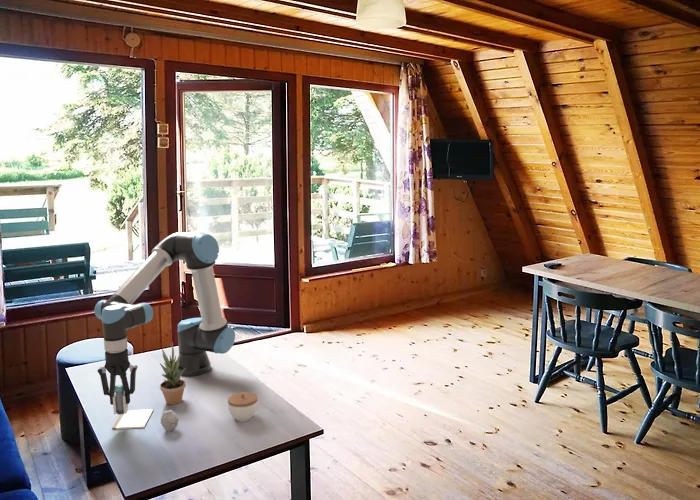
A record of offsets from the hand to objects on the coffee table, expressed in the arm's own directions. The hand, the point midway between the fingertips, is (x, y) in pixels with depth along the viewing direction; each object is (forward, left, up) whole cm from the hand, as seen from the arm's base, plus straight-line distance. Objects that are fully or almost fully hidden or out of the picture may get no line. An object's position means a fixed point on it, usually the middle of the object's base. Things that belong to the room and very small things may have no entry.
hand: (121, 412), depth 211 cm
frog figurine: (-18, +6, -5) cm, 19 cm away
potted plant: (-15, -19, -5) cm, 25 cm away
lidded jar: (-43, -1, -5) cm, 43 cm away
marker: (0, 0, 0) cm, 0 cm away
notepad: (-3, -4, -5) cm, 7 cm away
